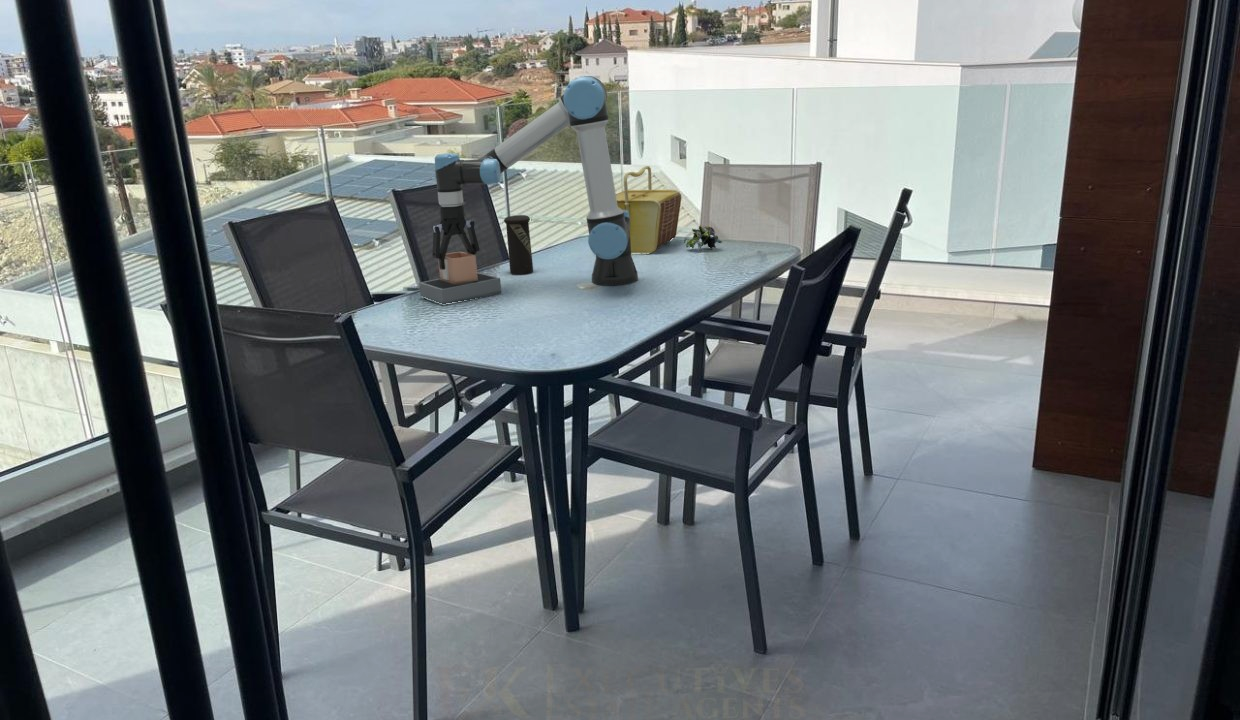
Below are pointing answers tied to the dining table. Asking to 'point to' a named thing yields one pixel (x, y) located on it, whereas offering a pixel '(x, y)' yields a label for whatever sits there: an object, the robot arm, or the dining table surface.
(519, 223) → the container
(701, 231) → the passion flower
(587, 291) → the dining table surface
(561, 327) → the dining table surface
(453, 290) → the grey tray
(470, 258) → the small crate
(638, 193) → the picnic basket
